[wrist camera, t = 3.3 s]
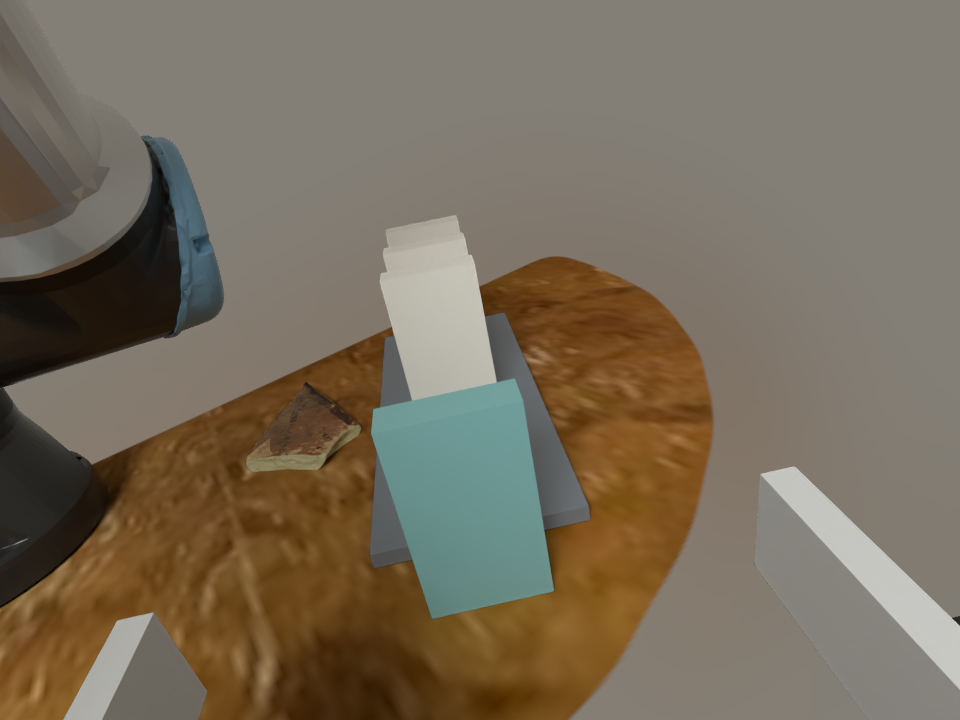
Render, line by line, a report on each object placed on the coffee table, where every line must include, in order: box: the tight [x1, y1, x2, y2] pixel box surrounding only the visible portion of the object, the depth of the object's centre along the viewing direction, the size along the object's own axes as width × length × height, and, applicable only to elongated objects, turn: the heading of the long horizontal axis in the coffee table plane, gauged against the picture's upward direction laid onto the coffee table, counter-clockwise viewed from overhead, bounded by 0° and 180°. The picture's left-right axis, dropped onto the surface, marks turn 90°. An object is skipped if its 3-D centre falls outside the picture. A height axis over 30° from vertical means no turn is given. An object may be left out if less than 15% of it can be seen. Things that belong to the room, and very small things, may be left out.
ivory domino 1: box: [386, 215, 460, 247], centre depth 48 cm, size 6×2×11 cm, turn 98°
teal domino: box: [371, 379, 554, 619], centre depth 25 cm, size 6×2×11 cm, turn 98°
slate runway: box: [369, 313, 590, 568], centre depth 42 cm, size 12×28×1 cm, turn 8°
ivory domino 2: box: [383, 232, 468, 272], centre depth 43 cm, size 6×2×11 cm, turn 98°
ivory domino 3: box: [380, 255, 497, 401], centre depth 37 cm, size 6×2×11 cm, turn 98°
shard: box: [246, 382, 361, 472], centre depth 43 cm, size 11×8×2 cm
